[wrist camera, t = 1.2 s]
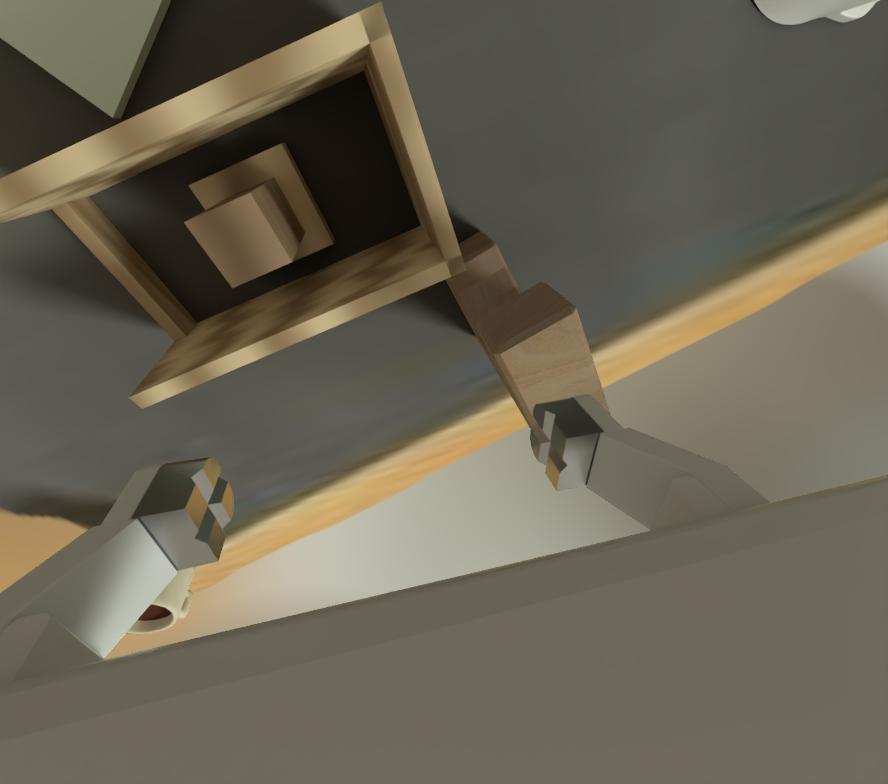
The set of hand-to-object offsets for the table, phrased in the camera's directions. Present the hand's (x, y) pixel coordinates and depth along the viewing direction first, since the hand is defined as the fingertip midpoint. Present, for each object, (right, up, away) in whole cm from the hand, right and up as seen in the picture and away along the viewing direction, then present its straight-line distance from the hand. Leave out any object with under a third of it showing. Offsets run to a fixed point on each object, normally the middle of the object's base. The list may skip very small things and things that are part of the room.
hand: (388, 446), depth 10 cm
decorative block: (+5, +13, +31) cm, 34 cm away
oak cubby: (-14, +17, +23) cm, 32 cm away
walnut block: (-13, +16, +22) cm, 30 cm away
